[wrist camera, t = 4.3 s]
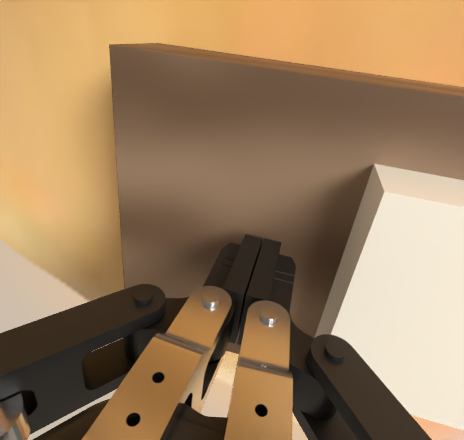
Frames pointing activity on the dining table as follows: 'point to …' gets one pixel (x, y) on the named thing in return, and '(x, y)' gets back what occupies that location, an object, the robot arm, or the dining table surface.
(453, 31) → the dining table surface
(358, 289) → the tile
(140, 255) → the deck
